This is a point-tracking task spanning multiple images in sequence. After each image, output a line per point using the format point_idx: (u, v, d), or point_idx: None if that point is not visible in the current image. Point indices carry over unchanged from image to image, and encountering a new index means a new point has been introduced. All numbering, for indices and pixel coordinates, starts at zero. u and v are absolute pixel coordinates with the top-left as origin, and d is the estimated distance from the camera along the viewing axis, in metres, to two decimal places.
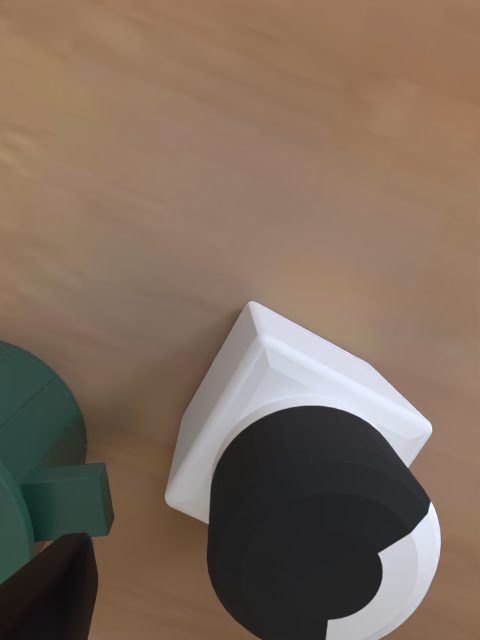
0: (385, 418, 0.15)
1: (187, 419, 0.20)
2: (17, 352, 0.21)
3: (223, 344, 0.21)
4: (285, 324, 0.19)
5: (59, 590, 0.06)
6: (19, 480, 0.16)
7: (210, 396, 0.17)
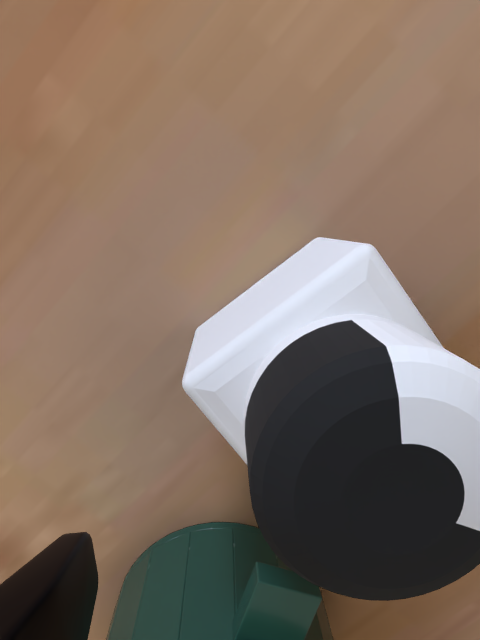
0: (329, 295, 0.13)
1: None
2: (153, 550, 0.22)
3: None
4: (220, 319, 0.18)
5: (59, 590, 0.06)
6: None
7: None
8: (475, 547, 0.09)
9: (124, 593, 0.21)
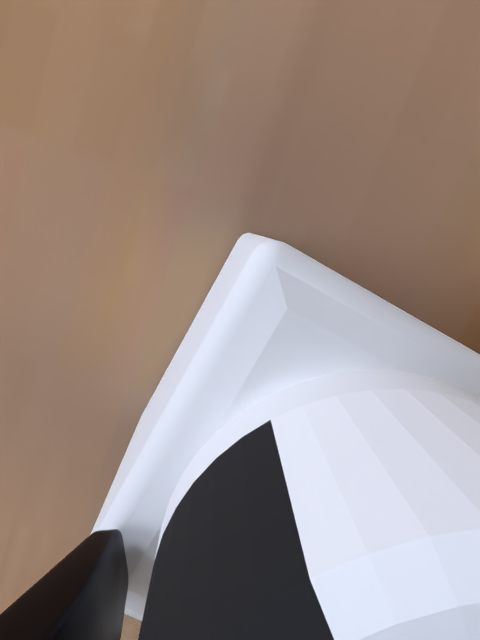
0: (236, 360, 0.07)
1: None
2: None
3: None
4: (148, 409, 0.12)
5: (97, 587, 0.06)
6: None
7: None
8: None
9: None
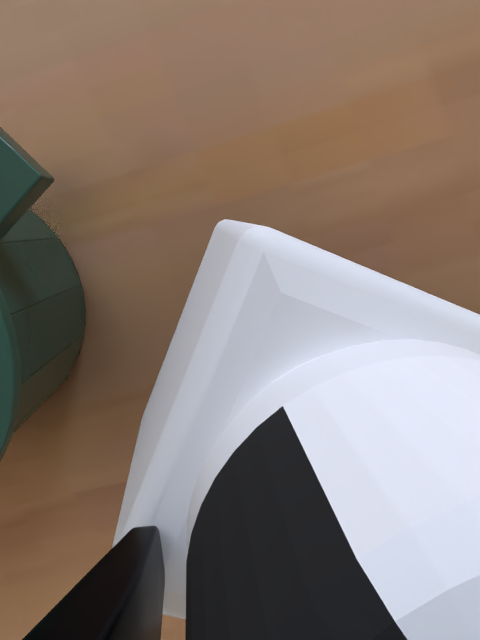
0: (237, 351, 0.07)
1: None
2: None
3: None
4: (149, 410, 0.12)
5: (142, 582, 0.06)
6: None
7: None
8: None
9: None
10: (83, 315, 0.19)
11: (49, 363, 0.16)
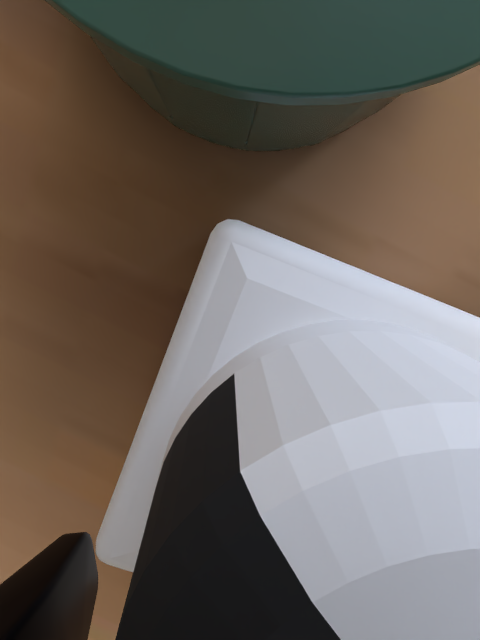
0: (209, 331, 0.08)
1: None
2: None
3: None
4: None
5: (59, 590, 0.06)
6: None
7: None
8: None
9: None
10: None
11: None
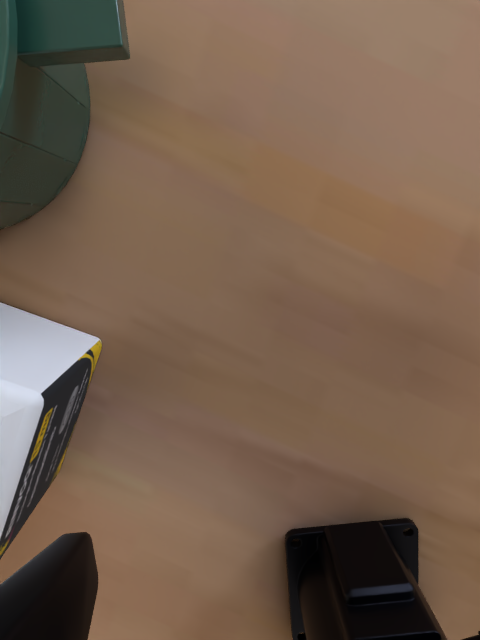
0: None
1: None
2: None
3: None
4: None
5: (59, 590, 0.06)
6: None
7: None
8: None
9: None
10: (58, 190, 0.18)
11: None
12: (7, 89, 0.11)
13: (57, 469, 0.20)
